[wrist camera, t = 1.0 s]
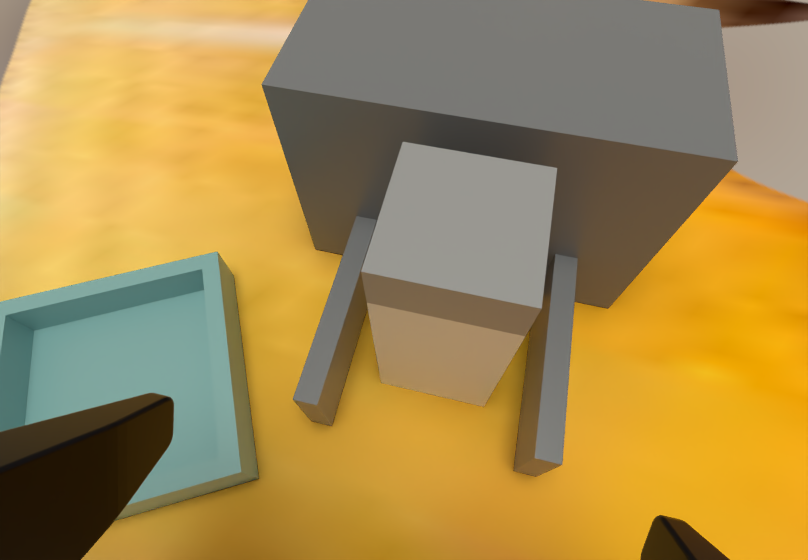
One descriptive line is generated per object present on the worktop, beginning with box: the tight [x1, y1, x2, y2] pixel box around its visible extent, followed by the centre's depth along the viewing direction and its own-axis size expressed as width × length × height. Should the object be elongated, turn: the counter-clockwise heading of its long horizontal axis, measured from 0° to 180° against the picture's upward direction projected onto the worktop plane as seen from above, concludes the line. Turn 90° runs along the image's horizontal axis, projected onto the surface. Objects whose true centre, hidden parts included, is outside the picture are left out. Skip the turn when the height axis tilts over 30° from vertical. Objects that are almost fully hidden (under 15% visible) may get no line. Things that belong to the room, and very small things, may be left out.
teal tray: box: [0, 252, 259, 520], centre depth 22 cm, size 11×11×2 cm
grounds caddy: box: [361, 142, 557, 407], centre depth 19 cm, size 5×5×11 cm
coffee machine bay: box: [262, 0, 738, 476], centre depth 20 cm, size 17×16×11 cm
